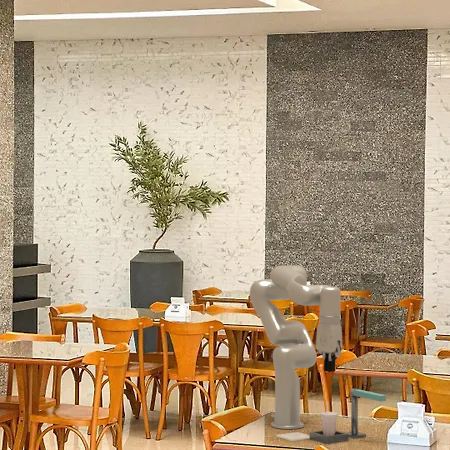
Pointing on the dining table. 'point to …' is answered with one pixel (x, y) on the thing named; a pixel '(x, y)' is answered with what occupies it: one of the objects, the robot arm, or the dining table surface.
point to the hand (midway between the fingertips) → (329, 371)
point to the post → (354, 419)
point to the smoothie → (329, 422)
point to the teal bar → (368, 395)
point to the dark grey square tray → (329, 437)
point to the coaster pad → (294, 436)
